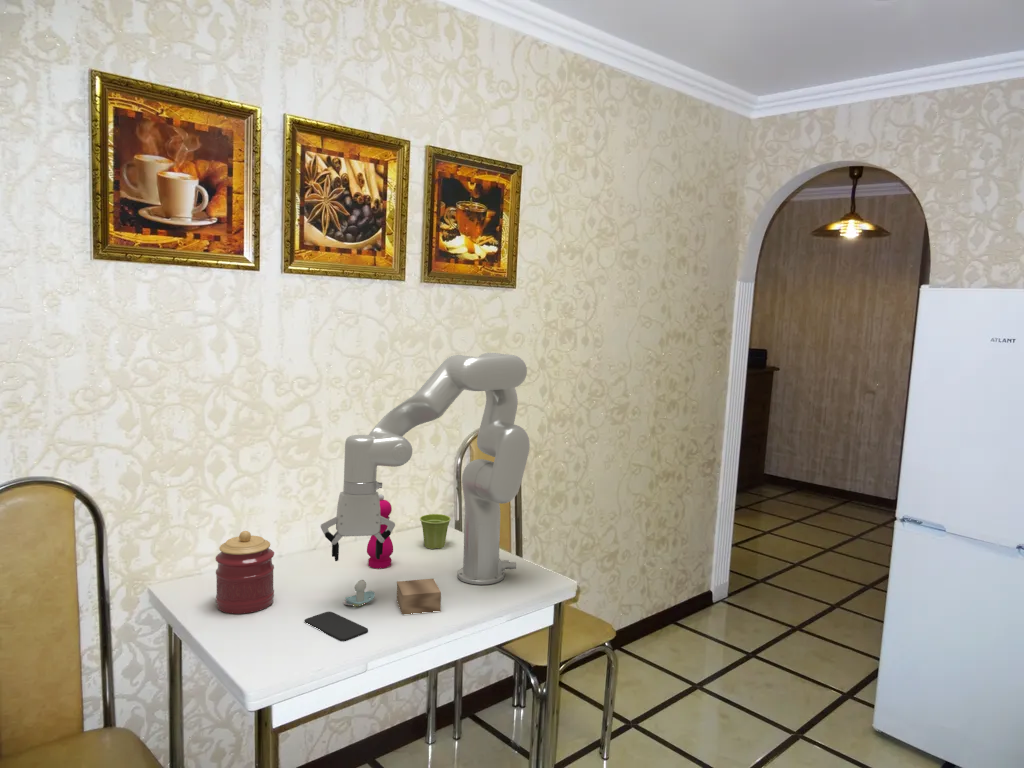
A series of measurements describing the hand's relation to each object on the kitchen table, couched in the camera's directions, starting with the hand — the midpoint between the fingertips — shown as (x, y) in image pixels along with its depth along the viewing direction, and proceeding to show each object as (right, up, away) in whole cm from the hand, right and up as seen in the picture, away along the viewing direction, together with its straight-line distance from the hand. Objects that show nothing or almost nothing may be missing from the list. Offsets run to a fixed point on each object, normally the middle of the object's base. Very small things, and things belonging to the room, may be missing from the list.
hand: (357, 558), depth 171 cm
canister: (-26, -11, -1) cm, 28 cm away
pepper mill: (0, -9, +29) cm, 30 cm away
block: (+14, -12, +1) cm, 19 cm away
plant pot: (+13, -8, +46) cm, 49 cm away
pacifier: (0, -12, +2) cm, 12 cm away
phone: (-2, -13, -11) cm, 17 cm away
